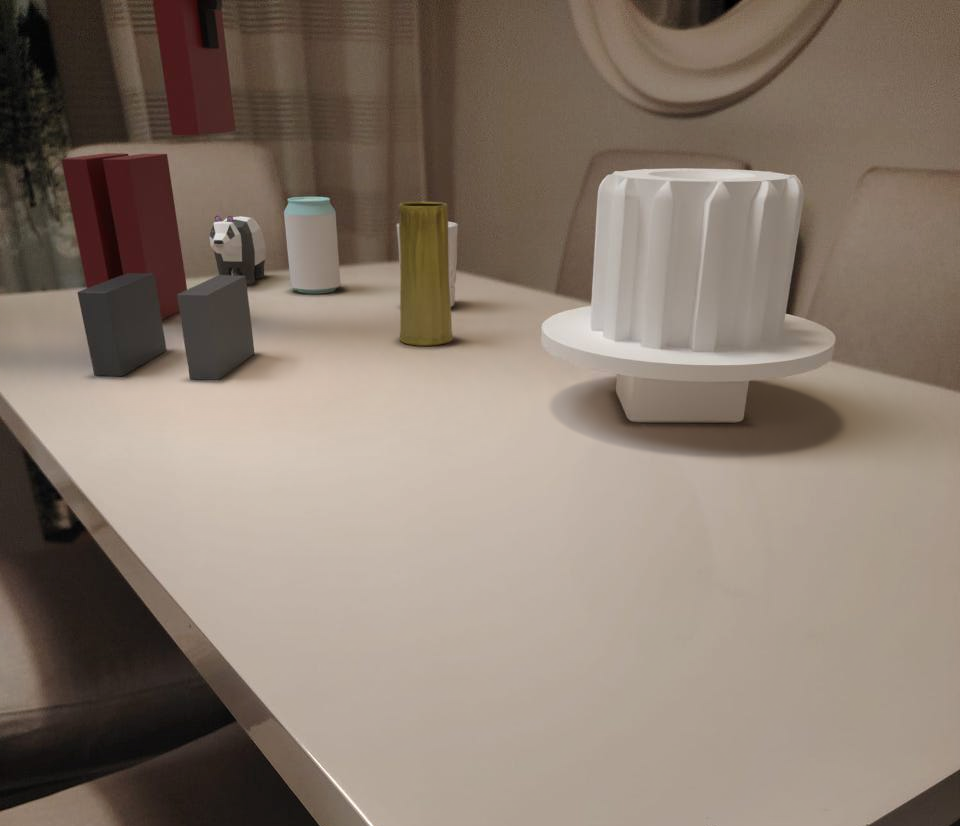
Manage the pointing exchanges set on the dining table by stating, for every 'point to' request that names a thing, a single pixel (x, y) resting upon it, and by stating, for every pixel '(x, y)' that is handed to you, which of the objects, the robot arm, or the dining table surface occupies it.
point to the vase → (424, 274)
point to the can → (312, 245)
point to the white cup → (451, 256)
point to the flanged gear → (692, 292)
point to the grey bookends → (139, 331)
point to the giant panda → (238, 247)
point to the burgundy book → (193, 71)
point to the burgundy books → (127, 220)
